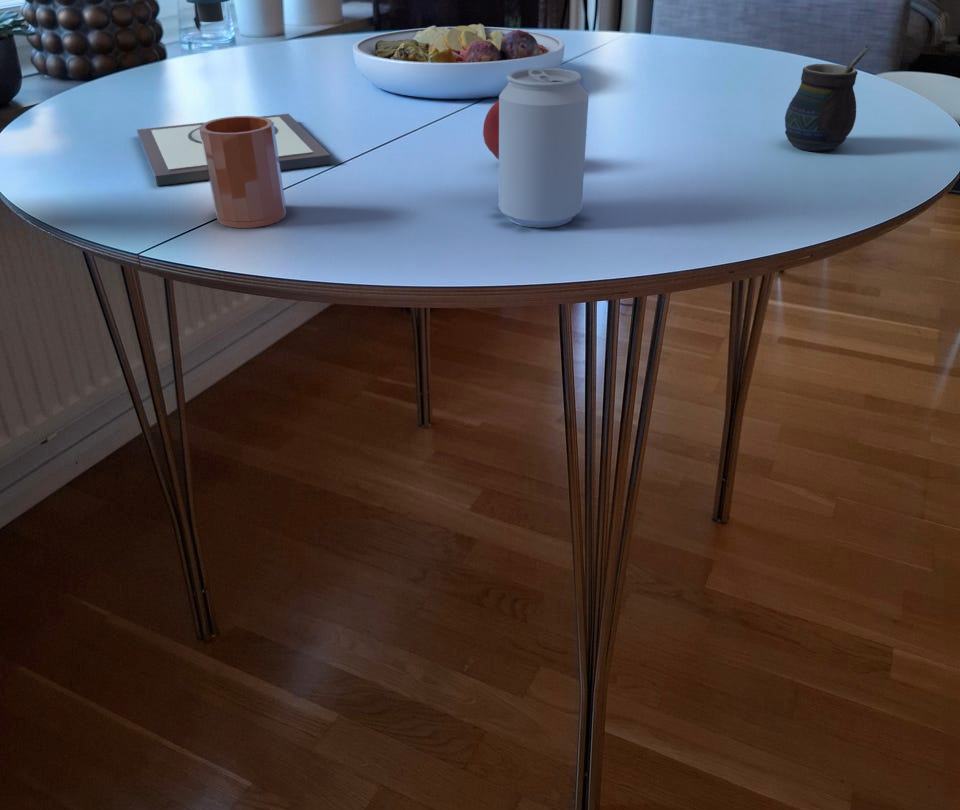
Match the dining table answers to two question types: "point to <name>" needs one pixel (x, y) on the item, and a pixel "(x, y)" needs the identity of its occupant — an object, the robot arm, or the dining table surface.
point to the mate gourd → (823, 106)
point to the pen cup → (243, 171)
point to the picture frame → (182, 153)
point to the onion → (492, 129)
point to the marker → (209, 10)
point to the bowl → (453, 59)
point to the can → (542, 146)
